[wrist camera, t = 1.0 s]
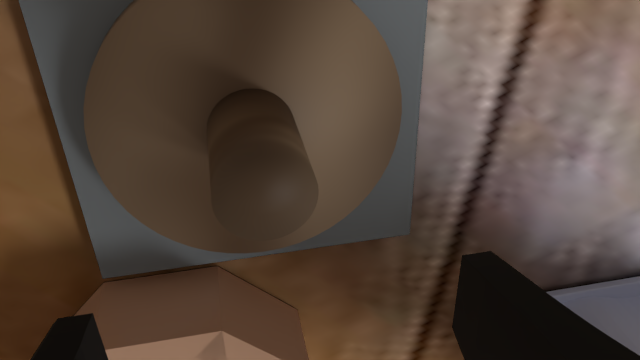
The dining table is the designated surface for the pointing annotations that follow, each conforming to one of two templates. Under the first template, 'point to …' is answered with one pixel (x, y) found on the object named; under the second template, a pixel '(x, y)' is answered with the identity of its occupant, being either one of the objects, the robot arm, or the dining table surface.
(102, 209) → the mat
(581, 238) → the dining table surface
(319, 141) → the lid
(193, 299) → the bowl
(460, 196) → the dining table surface
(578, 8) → the dining table surface
